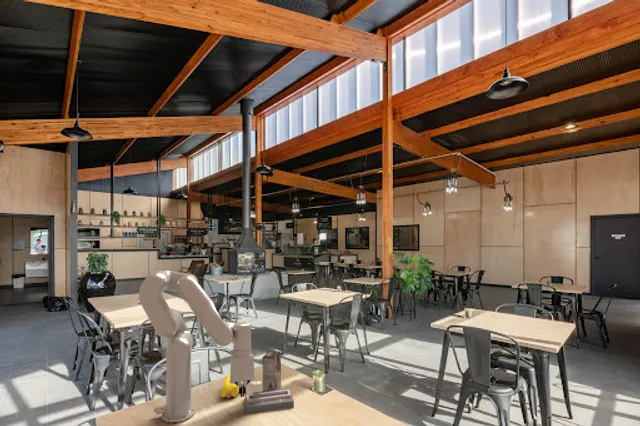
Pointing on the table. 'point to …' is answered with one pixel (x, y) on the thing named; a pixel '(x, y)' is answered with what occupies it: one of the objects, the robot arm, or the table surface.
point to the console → (269, 400)
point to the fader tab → (256, 388)
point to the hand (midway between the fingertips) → (242, 395)
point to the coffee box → (271, 370)
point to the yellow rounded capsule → (229, 388)
